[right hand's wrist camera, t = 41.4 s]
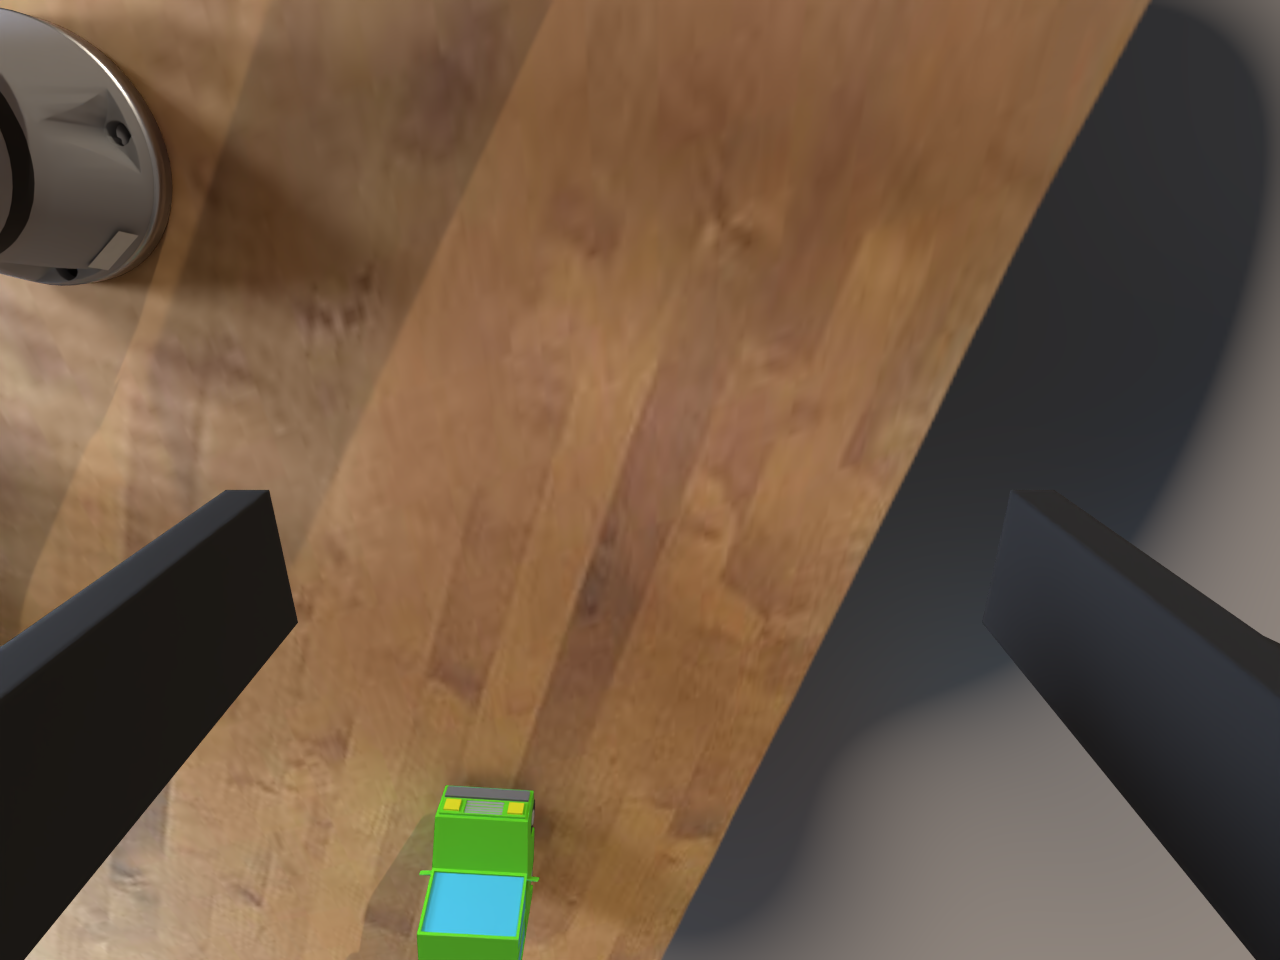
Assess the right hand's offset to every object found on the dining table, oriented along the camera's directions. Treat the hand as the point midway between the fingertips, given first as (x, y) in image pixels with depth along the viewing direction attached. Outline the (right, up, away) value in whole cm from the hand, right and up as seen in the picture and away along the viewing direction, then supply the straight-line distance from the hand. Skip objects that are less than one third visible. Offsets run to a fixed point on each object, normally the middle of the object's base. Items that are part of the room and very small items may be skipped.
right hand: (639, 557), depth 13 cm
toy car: (-14, -31, +52) cm, 62 cm away
